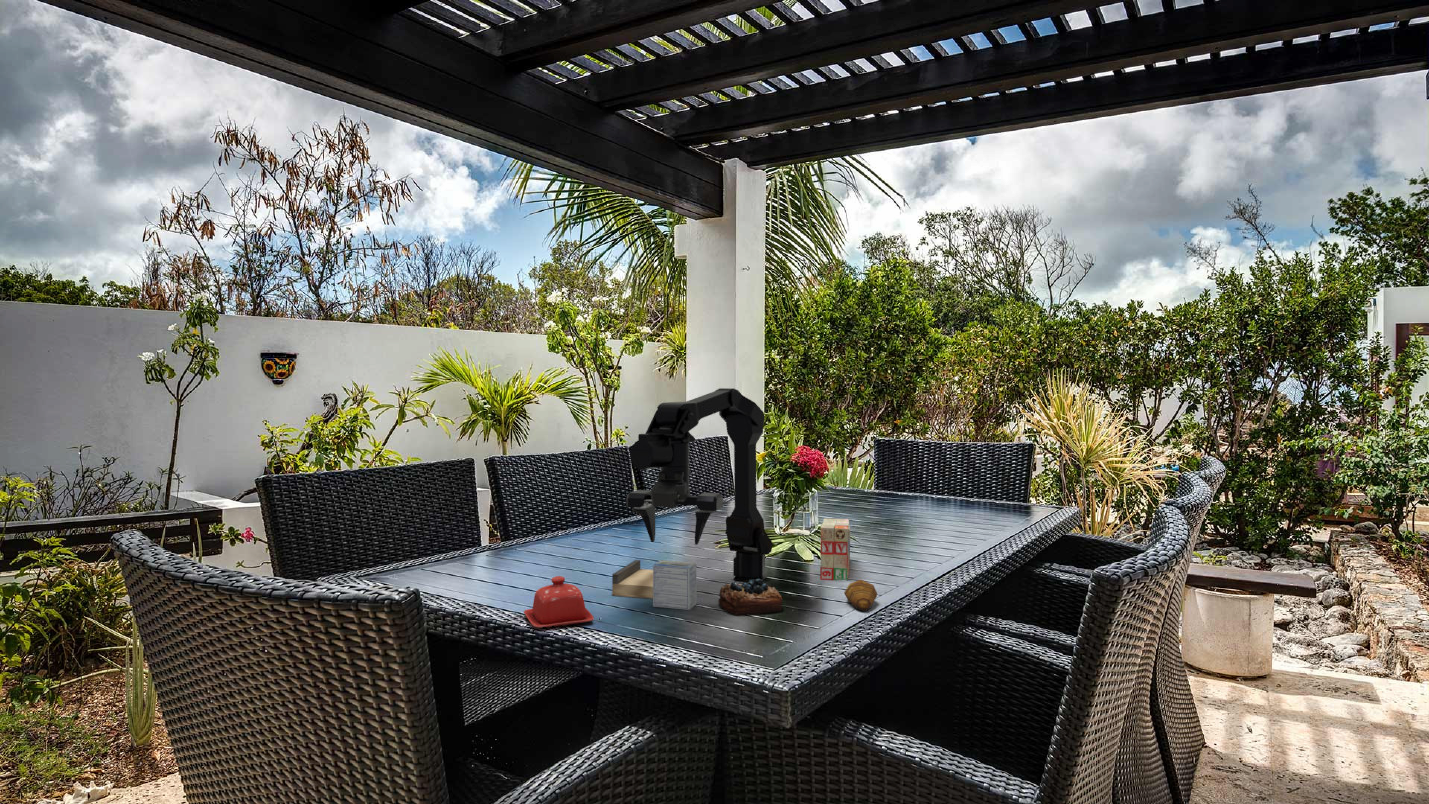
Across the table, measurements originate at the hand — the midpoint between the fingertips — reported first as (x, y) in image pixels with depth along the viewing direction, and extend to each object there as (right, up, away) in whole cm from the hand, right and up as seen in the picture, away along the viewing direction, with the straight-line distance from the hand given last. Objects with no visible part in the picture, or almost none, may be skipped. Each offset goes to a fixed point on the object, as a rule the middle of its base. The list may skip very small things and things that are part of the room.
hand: (674, 543), depth 161 cm
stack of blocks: (+37, -12, +32) cm, 51 cm away
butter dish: (-21, -13, -10) cm, 27 cm away
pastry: (+15, -13, 0) cm, 20 cm away
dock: (-5, -12, +13) cm, 18 cm away
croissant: (+38, -13, +3) cm, 40 cm away
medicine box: (0, -13, 0) cm, 13 cm away
